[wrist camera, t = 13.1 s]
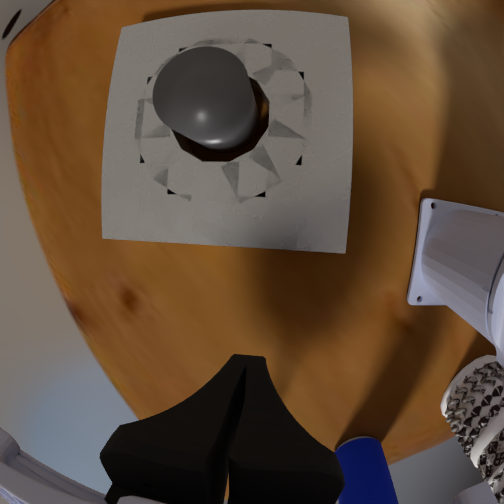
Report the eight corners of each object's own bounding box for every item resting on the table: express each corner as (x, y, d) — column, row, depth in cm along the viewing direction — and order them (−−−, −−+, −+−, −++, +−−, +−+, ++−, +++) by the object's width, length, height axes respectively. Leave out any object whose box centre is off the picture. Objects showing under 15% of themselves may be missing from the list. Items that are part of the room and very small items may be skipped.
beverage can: (329, 441, 23) (343, 571, 9) (379, 427, 23) (415, 551, 8) (335, 466, 24) (347, 578, 10) (379, 454, 24) (407, 562, 9)
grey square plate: (341, 33, 16) (348, 17, 14) (337, 245, 19) (345, 253, 17) (135, 40, 17) (122, 27, 15) (119, 232, 21) (102, 238, 18)
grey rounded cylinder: (262, 91, 18) (253, 46, 11) (255, 155, 19) (243, 136, 12) (197, 89, 18) (160, 49, 11) (189, 150, 19) (146, 134, 12)
